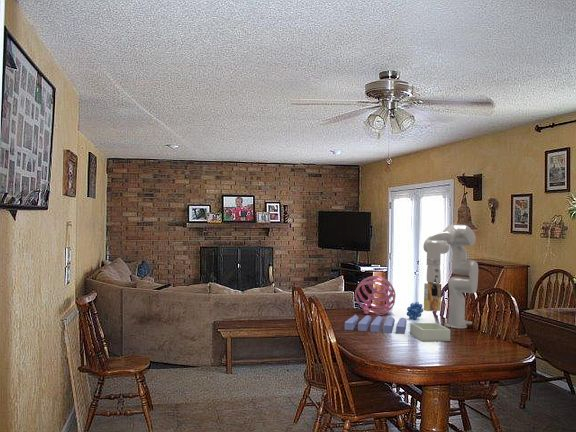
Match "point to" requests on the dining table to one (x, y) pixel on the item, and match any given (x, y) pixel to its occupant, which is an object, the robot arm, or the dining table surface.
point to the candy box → (432, 298)
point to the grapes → (414, 310)
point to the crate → (429, 332)
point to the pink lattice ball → (371, 297)
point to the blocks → (376, 324)
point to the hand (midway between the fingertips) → (432, 294)
